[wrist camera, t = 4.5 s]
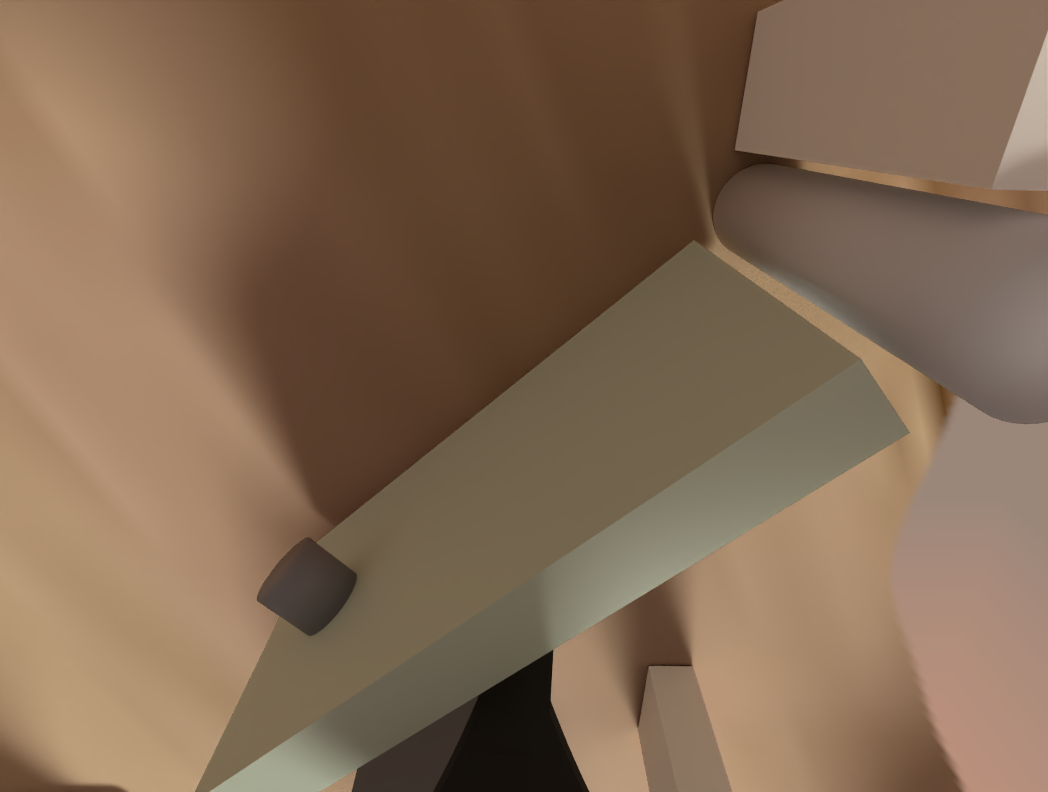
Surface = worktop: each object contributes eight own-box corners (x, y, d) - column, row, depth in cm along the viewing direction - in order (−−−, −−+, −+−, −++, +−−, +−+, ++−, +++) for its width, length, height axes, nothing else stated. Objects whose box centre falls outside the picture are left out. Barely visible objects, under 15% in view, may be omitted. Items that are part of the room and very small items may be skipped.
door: (280, 515, 13) (124, 772, 8) (660, 194, 10) (804, 274, 5) (349, 568, 13) (246, 836, 8) (724, 282, 10) (909, 432, 5)
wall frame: (631, 730, 17) (690, 1062, 11) (745, 10, 9) (1157, -183, 3) (685, 730, 17) (774, 1062, 11) (845, 14, 9) (1444, -178, 3)
